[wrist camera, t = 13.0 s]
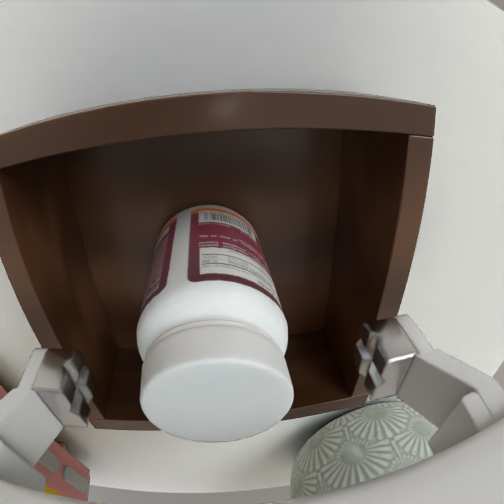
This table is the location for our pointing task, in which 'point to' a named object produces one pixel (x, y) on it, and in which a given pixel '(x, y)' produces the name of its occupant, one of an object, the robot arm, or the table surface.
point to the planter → (361, 448)
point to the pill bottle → (212, 331)
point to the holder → (226, 195)
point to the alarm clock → (62, 471)
